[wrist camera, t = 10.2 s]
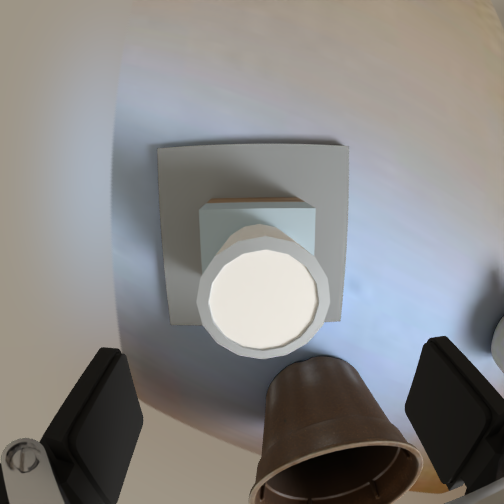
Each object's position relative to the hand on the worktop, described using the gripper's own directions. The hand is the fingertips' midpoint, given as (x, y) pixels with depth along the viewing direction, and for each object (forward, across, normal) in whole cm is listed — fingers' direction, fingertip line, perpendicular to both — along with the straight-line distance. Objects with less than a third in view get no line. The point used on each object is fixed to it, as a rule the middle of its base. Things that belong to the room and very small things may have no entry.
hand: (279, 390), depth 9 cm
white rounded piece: (+14, 0, +1) cm, 14 cm away
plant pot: (+23, -7, +21) cm, 32 cm away
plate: (+23, 0, +1) cm, 23 cm away
